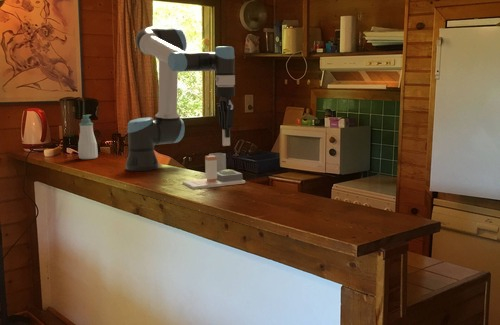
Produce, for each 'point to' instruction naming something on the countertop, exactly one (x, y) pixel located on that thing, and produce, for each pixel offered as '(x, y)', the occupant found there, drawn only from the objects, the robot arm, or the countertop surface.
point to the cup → (220, 161)
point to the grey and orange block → (211, 168)
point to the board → (220, 181)
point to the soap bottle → (87, 140)
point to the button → (227, 172)
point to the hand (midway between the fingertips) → (226, 145)
